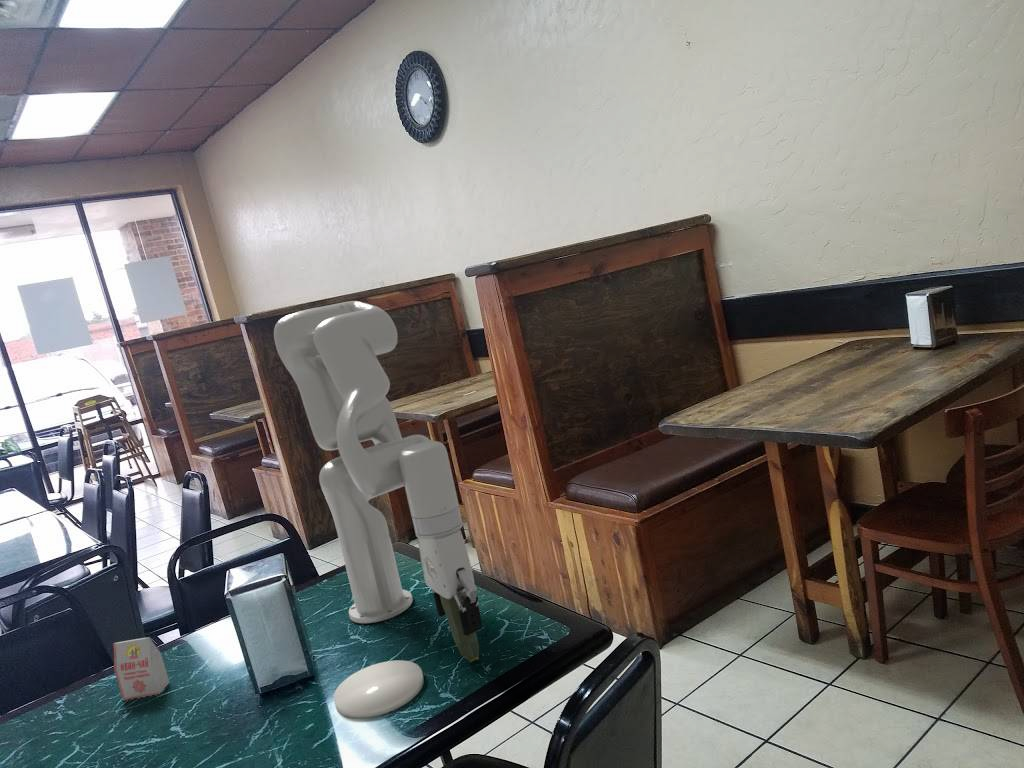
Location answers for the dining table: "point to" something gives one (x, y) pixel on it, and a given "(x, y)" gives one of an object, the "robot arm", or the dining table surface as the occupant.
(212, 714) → the dining table surface
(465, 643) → the vegetable
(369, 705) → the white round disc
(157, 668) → the tea bag
